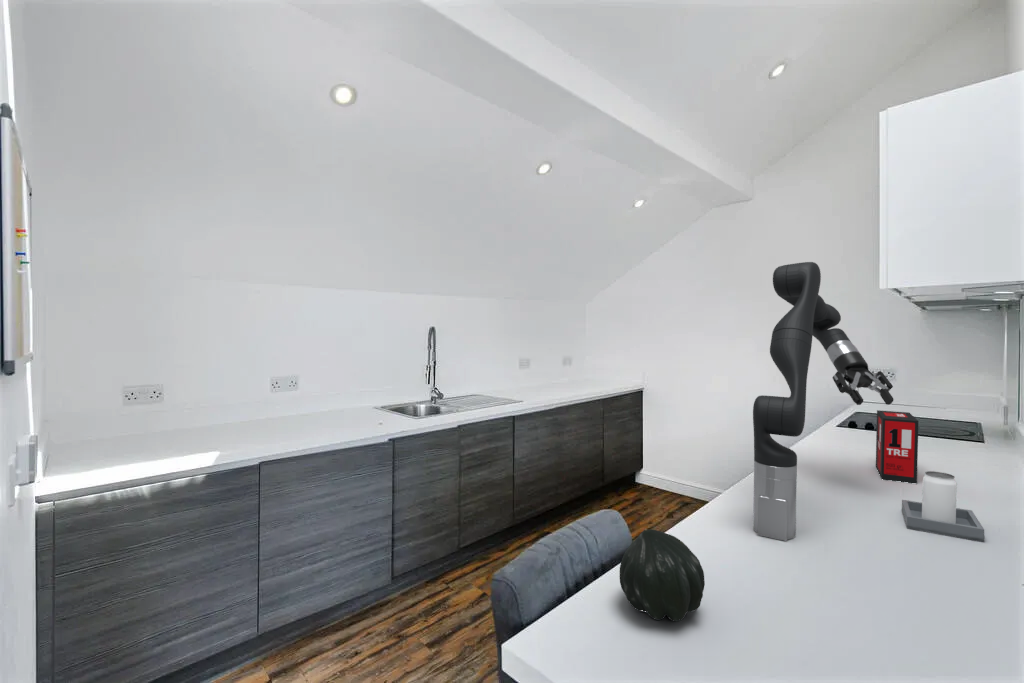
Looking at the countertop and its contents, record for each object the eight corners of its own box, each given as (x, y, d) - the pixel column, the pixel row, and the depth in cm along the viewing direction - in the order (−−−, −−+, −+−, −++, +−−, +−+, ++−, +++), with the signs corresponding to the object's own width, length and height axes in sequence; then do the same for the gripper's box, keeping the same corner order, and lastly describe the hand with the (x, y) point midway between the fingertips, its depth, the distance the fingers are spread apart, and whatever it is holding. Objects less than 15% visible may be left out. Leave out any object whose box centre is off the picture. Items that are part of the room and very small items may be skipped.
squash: (732, 580, 88) (677, 505, 94) (700, 621, 77) (640, 534, 83) (675, 608, 96) (628, 537, 102) (639, 650, 85) (588, 568, 91)
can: (939, 516, 128) (940, 470, 127) (963, 526, 121) (964, 478, 121) (914, 517, 127) (916, 470, 127) (937, 527, 121) (938, 478, 120)
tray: (984, 542, 114) (984, 529, 114) (906, 528, 122) (907, 516, 122) (971, 521, 126) (971, 510, 126) (901, 510, 134) (901, 499, 134)
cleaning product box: (916, 484, 155) (918, 421, 154) (881, 479, 160) (883, 418, 159) (907, 470, 169) (909, 412, 169) (875, 466, 174) (876, 410, 173)
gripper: (829, 350, 145) (858, 395, 134) (876, 350, 145) (908, 394, 134) (817, 367, 150) (843, 411, 139) (862, 366, 151) (892, 410, 140)
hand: (875, 403), depth 137 cm, fingers open, 8 cm apart
